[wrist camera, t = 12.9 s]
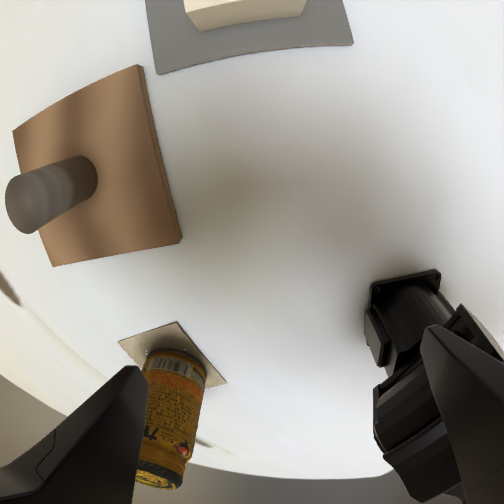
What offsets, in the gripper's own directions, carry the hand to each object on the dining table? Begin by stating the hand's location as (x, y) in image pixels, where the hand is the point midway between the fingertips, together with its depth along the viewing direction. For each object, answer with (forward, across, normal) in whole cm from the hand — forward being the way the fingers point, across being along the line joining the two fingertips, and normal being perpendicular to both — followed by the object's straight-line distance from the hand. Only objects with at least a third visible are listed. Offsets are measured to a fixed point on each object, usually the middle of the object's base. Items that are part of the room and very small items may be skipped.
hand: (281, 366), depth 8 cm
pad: (+12, -1, -16) cm, 20 cm away
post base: (+12, +12, -6) cm, 18 cm away
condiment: (+12, +11, +12) cm, 20 cm away
